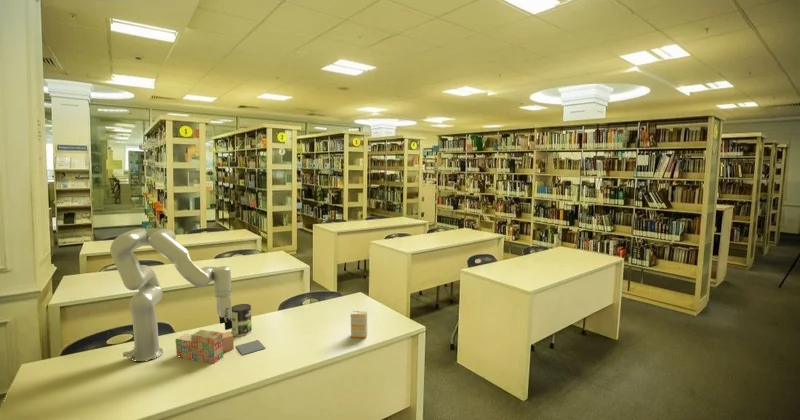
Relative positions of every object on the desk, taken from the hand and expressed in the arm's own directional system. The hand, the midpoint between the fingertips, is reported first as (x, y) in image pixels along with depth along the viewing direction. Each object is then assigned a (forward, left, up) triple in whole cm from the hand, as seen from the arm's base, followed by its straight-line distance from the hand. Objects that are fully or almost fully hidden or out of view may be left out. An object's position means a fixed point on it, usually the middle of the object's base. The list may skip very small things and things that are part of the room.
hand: (226, 325), depth 187 cm
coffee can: (+11, +15, -12) cm, 22 cm away
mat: (+9, -6, -12) cm, 16 cm away
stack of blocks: (-12, -1, -12) cm, 17 cm away
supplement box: (+59, -28, -12) cm, 67 cm away
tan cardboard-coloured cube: (-1, 0, -12) cm, 12 cm away
